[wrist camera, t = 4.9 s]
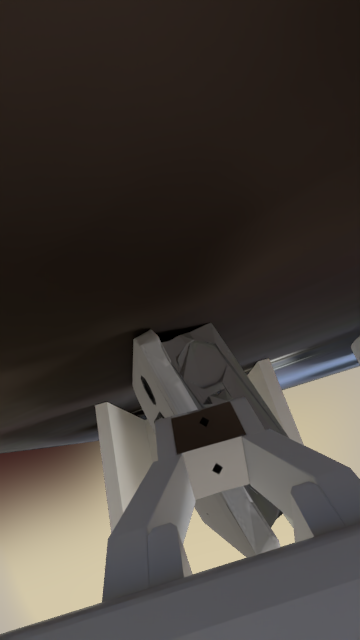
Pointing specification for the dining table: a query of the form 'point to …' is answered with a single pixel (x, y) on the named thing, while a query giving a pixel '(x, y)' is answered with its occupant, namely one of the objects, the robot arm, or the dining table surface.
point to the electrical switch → (200, 392)
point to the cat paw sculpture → (356, 348)
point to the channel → (140, 440)
